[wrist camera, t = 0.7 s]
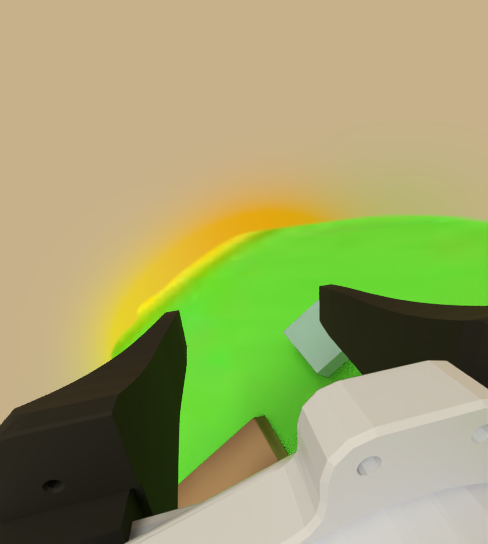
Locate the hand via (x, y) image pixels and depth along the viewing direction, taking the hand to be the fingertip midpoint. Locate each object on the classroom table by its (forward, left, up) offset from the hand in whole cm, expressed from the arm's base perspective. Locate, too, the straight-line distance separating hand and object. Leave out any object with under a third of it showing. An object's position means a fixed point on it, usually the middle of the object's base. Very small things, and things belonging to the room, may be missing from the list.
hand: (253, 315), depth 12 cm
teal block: (0, -2, -17) cm, 17 cm away
